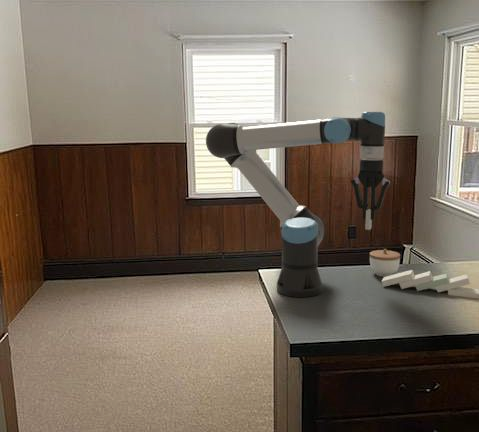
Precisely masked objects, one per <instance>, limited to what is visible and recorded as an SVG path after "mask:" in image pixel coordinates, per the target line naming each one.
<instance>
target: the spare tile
mask: <svg viewBox="0 0 479 432" xmlns="http://www.w3.org/2000/svg"><path fill="white" fill-rule="evenodd" d="M448 275H449V274H448V273H443V274H439V275H434V276H433V277H432V281H429V282H426V283H422V284H418V285H415V289H416V291H417V292H419V291H423V290H424V291H425V290H428V289H431V288H436V286H440V285H444V284H448V283H449V279H450V278H449V276H448Z"/></svg>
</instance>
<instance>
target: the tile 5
mask: <svg viewBox="0 0 479 432" xmlns="http://www.w3.org/2000/svg"><path fill="white" fill-rule="evenodd" d="M447 295H448V296H454V297H463V298H471V299H478V298H479V288H473V287H463V286H461V287H457V288H453V289H449V290H447Z"/></svg>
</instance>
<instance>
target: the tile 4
mask: <svg viewBox="0 0 479 432" xmlns="http://www.w3.org/2000/svg"><path fill="white" fill-rule="evenodd" d="M468 285H471V283H470V280H469V277H468V275H467V274H463V275H459V276H456V277H455V276H454V277H452V278H449V283H448V284H444V285H440V286H436V287H435V288H436V291H437V293H441V292H445V291H448V290H449V289H453V288H457V287H463V286H468Z"/></svg>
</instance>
